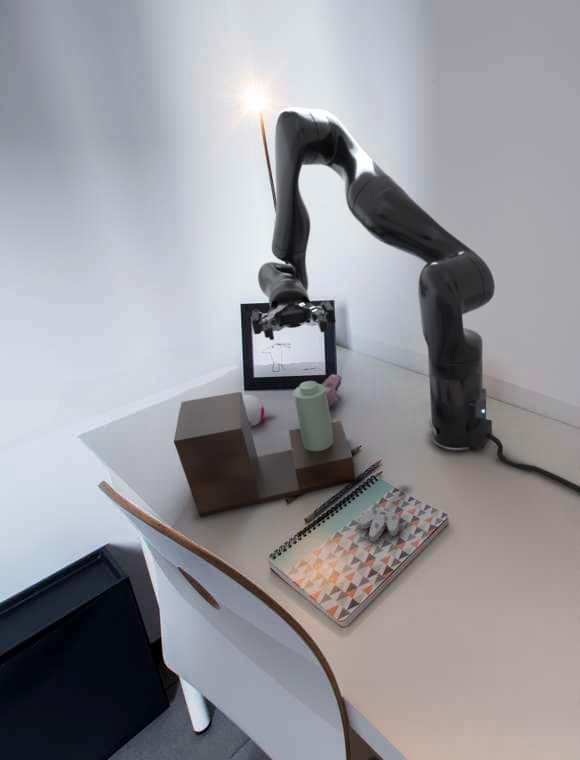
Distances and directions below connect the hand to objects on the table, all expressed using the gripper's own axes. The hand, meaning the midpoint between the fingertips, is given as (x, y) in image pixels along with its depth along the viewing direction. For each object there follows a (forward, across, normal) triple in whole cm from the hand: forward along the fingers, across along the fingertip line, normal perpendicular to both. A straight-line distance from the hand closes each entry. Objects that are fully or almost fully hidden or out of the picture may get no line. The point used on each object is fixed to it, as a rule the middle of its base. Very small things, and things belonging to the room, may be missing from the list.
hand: (297, 330), depth 90 cm
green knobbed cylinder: (+11, 0, +16) cm, 19 cm away
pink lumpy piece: (-11, +4, +21) cm, 24 cm away
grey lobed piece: (+27, +8, +21) cm, 35 cm away
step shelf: (+11, -8, +21) cm, 25 cm away
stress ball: (-9, -11, +21) cm, 26 cm away
